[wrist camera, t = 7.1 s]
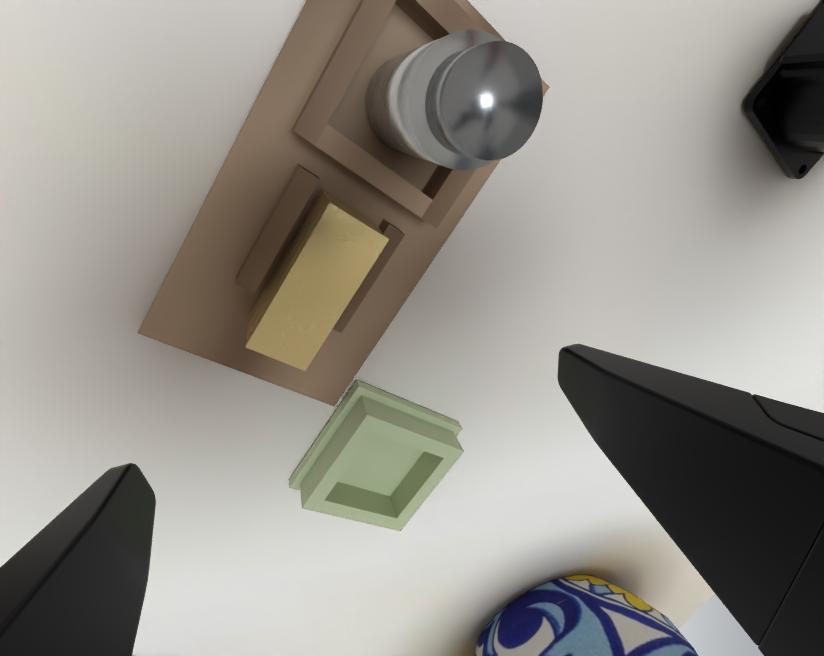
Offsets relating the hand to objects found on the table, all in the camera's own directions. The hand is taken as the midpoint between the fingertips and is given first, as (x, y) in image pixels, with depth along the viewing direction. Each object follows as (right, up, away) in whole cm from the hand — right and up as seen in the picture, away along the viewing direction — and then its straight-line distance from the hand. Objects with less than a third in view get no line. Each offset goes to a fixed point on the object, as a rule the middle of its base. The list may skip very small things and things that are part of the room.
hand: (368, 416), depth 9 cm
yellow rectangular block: (-3, +4, +9) cm, 10 cm away
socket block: (-2, +7, +9) cm, 11 cm away
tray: (-1, -5, +15) cm, 16 cm away
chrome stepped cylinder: (+1, +10, +7) cm, 13 cm away
